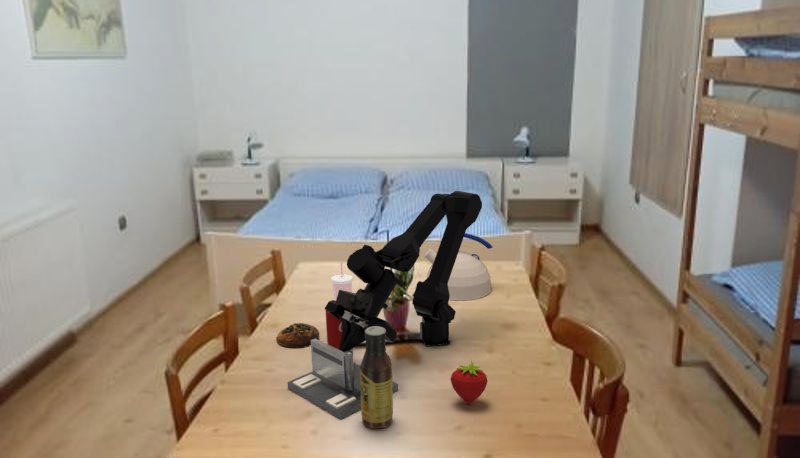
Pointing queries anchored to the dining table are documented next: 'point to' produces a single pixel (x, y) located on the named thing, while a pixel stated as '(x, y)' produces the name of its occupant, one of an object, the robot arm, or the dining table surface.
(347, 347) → the robot arm
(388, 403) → the sauce bottle
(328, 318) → the beverage can
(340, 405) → the strip
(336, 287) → the beverage cup
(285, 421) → the dining table surface
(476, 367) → the strawberry
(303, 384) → the label plate
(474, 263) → the kettle
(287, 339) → the bread roll
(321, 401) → the metal base plate
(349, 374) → the grey slotted panel
